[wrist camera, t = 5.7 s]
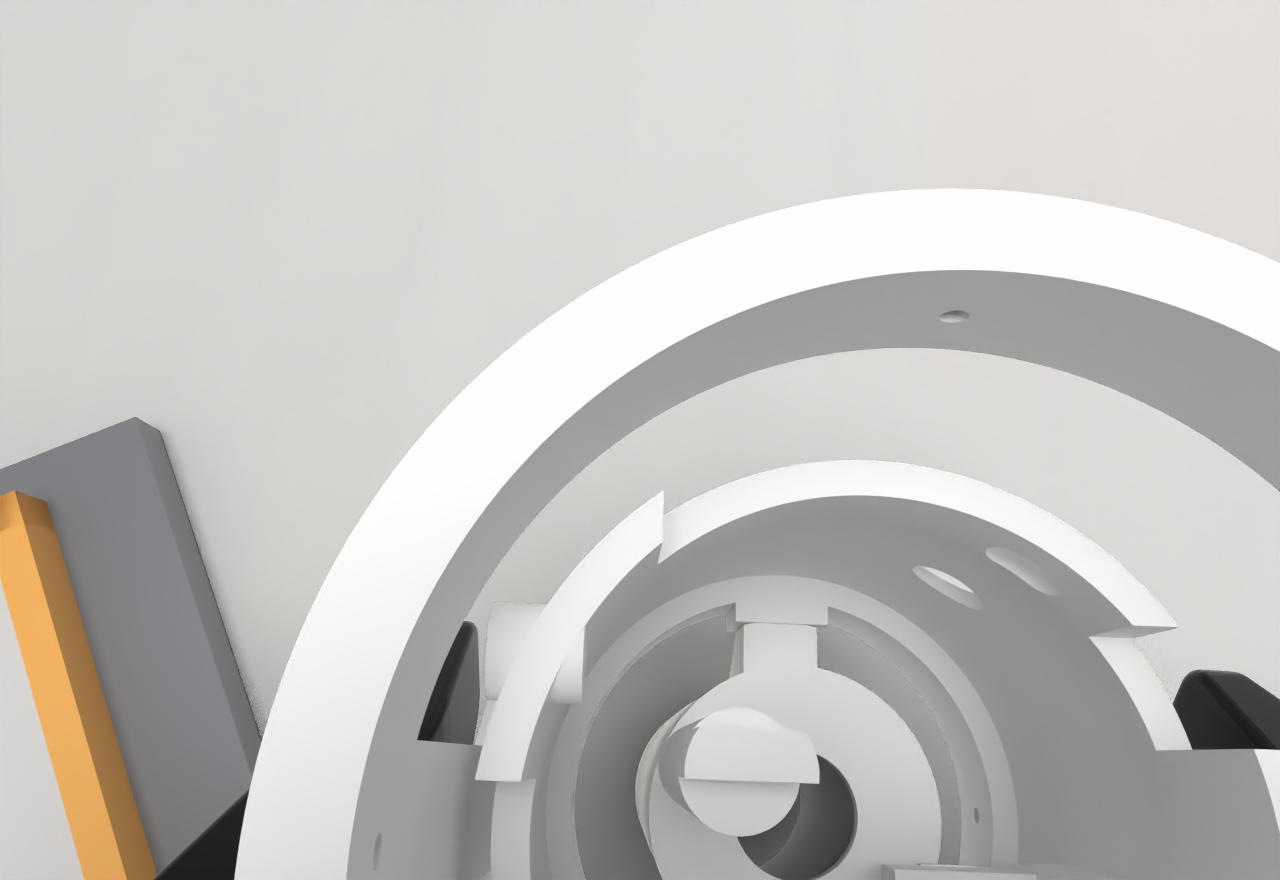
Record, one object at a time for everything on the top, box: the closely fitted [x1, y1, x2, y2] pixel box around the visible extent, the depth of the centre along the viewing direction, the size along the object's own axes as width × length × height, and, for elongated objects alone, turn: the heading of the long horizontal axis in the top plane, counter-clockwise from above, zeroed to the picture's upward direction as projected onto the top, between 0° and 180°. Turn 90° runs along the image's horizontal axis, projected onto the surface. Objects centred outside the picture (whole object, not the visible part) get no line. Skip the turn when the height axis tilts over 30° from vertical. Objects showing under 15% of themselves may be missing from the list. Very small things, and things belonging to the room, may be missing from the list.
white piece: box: [234, 189, 1280, 880], centre depth 11 cm, size 7×7×15 cm
